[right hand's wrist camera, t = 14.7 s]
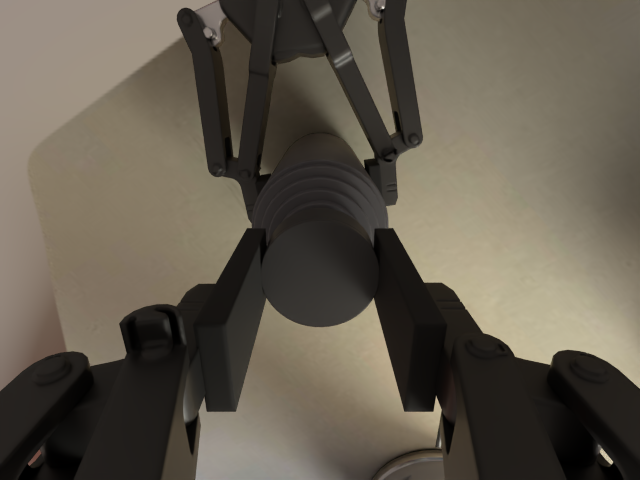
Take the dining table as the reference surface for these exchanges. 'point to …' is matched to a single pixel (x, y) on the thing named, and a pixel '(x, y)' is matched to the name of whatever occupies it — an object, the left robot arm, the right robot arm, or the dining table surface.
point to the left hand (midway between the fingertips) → (329, 252)
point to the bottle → (320, 185)
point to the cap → (320, 268)
